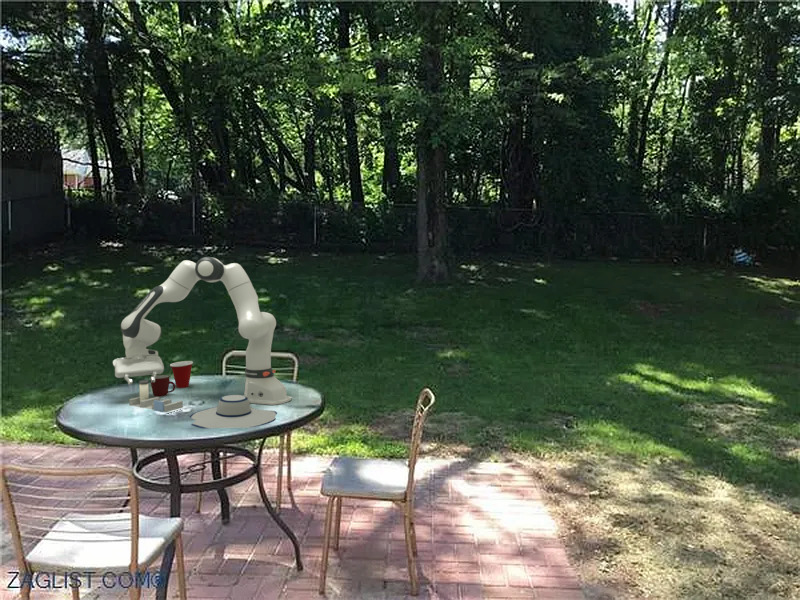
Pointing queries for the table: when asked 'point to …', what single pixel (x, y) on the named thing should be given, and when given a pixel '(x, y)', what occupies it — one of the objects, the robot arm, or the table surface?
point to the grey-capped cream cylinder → (144, 390)
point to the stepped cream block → (156, 404)
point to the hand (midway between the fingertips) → (142, 382)
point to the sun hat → (232, 414)
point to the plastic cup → (182, 373)
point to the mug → (161, 385)
